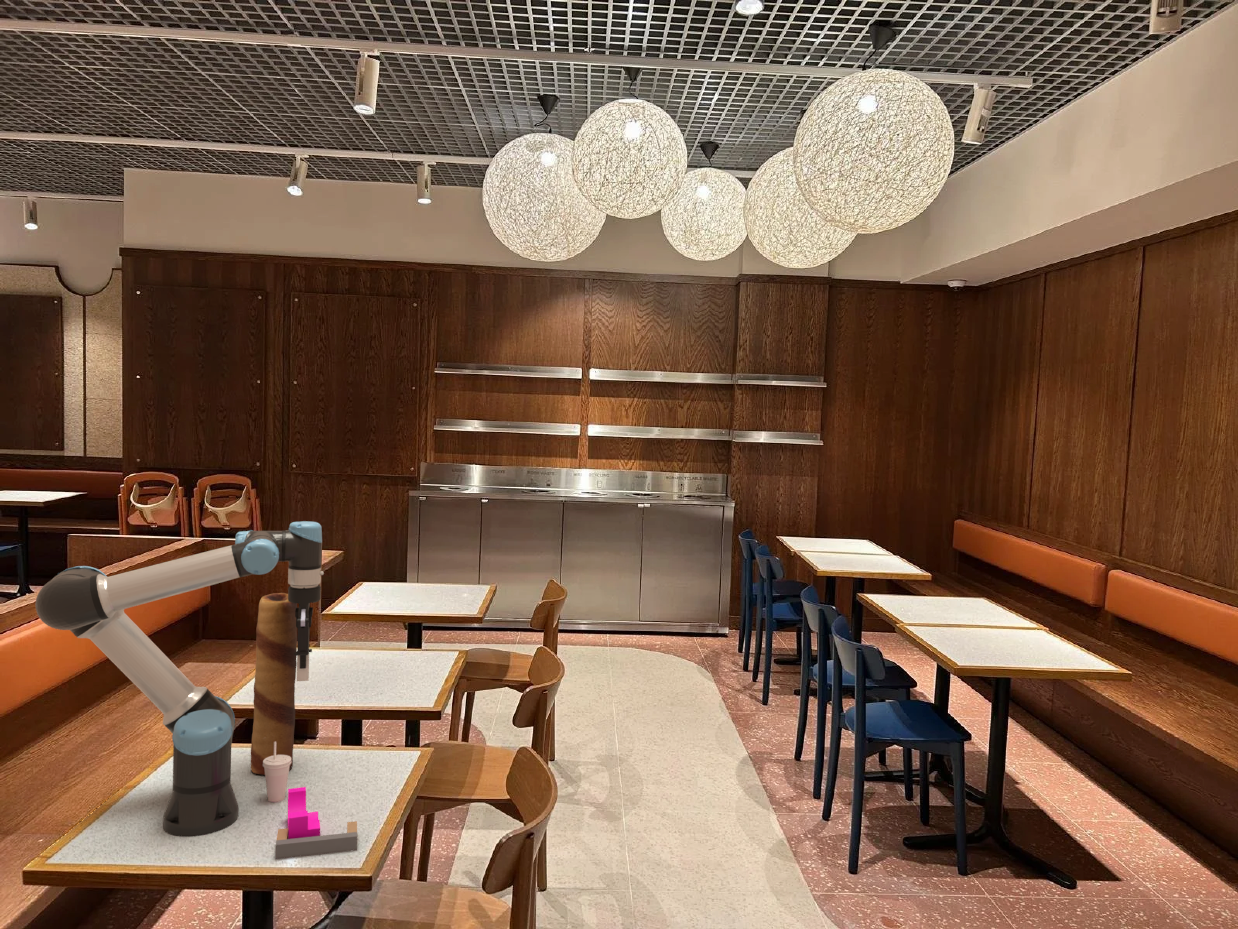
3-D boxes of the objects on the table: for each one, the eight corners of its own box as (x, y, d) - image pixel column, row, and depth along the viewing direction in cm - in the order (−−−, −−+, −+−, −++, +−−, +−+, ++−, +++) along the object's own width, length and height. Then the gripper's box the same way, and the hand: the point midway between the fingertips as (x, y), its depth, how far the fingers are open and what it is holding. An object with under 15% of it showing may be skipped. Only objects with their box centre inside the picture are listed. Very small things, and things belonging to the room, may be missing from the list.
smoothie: (263, 795, 204) (264, 737, 203) (291, 792, 206) (292, 735, 205) (260, 807, 198) (261, 747, 197) (290, 804, 200) (291, 745, 199)
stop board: (275, 861, 174) (275, 845, 174) (277, 845, 181) (278, 829, 181) (356, 852, 179) (357, 836, 179) (356, 837, 186) (356, 821, 186)
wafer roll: (302, 762, 224) (305, 593, 222) (283, 778, 214) (287, 601, 212) (263, 759, 225) (267, 591, 223) (243, 775, 215) (246, 599, 212)
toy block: (319, 849, 180) (320, 814, 180) (288, 853, 178) (288, 818, 178) (316, 817, 194) (317, 785, 194) (287, 821, 192) (288, 789, 192)
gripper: (320, 590, 203) (317, 687, 204) (321, 579, 215) (319, 671, 216) (286, 590, 201) (284, 689, 202) (290, 580, 213) (288, 673, 214)
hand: (302, 680), depth 209 cm, fingers closed
